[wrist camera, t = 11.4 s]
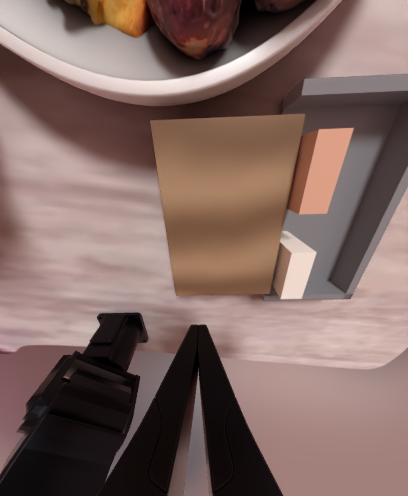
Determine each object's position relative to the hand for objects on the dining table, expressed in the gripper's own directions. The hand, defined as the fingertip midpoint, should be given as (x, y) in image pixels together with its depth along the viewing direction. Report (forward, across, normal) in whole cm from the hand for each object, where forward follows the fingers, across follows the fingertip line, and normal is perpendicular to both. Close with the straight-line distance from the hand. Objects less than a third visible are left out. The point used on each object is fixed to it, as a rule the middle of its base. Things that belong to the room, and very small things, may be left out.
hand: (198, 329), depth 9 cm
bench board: (+11, -2, -4) cm, 12 cm away
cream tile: (+8, -8, +1) cm, 11 cm away
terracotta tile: (+8, -7, -8) cm, 13 cm away
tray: (+11, -12, -4) cm, 17 cm away
